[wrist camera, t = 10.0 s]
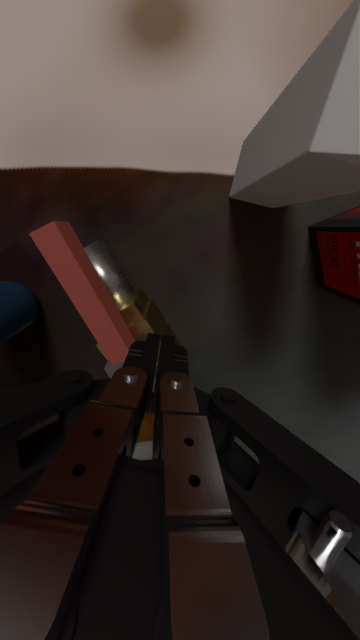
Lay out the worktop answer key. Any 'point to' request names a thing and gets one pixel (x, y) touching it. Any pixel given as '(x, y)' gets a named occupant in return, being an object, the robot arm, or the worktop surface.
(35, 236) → the lever
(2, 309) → the soda can
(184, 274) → the worktop surface
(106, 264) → the pipe valve
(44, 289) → the worktop surface
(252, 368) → the worktop surface
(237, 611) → the robot arm
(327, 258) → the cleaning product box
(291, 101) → the milk
